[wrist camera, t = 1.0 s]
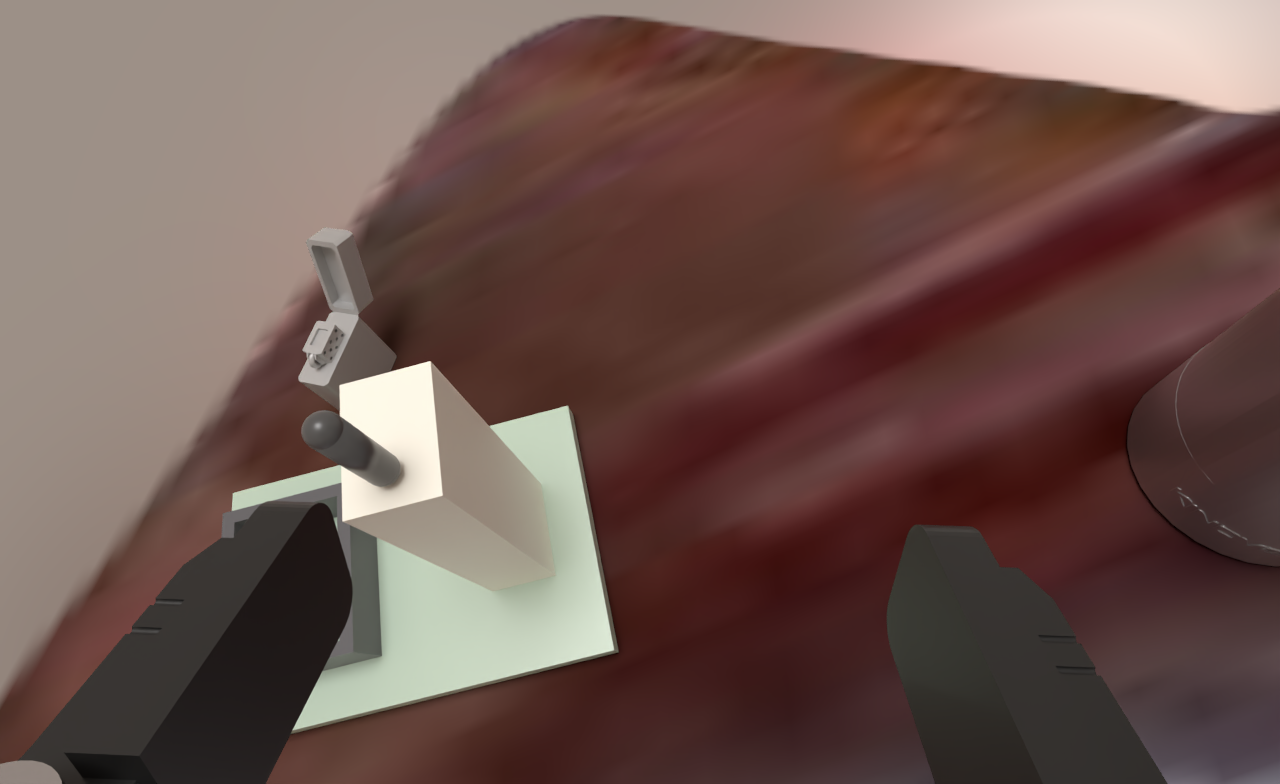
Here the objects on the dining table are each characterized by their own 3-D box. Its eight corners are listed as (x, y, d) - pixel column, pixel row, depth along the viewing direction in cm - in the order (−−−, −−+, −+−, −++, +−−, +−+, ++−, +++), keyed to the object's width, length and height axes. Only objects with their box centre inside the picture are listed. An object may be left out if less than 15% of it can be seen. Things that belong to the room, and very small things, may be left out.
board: (573, 414, 36) (555, 384, 32) (618, 652, 30) (603, 645, 27) (248, 499, 36) (198, 478, 33) (237, 747, 31) (176, 752, 28)
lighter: (369, 419, 37) (280, 351, 30) (342, 414, 38) (248, 345, 30) (416, 310, 40) (345, 223, 33) (391, 306, 40) (315, 219, 33)
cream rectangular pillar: (541, 483, 33) (367, 290, 18) (555, 575, 31) (373, 447, 16) (481, 499, 33) (257, 320, 18) (492, 591, 31) (251, 479, 16)
